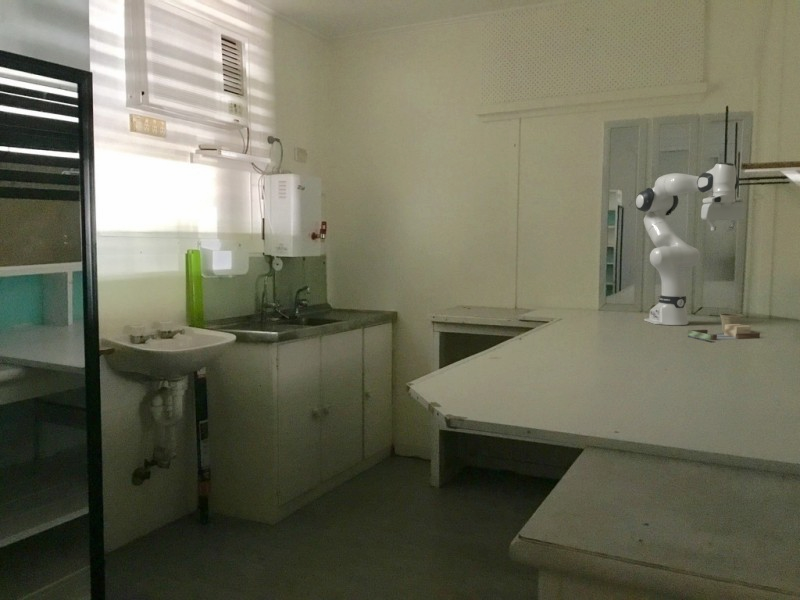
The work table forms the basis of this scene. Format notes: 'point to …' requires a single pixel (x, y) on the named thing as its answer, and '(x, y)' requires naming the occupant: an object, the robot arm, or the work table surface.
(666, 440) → the work table surface
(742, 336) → the channel
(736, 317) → the flower pot
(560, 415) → the work table surface
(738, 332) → the beech block
